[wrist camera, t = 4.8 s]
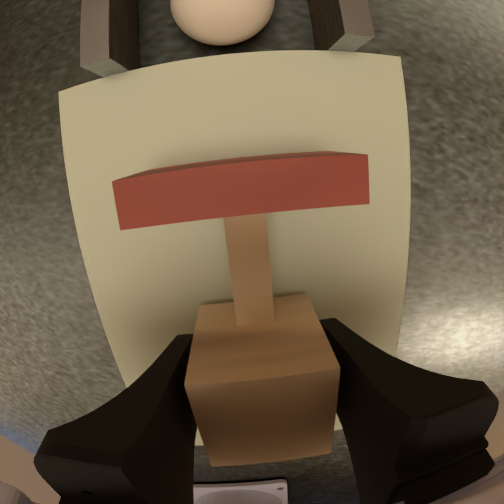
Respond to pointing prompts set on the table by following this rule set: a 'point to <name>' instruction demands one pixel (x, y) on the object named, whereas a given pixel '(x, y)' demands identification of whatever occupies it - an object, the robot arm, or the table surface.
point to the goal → (127, 35)
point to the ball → (221, 19)
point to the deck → (234, 146)
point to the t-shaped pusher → (253, 301)
